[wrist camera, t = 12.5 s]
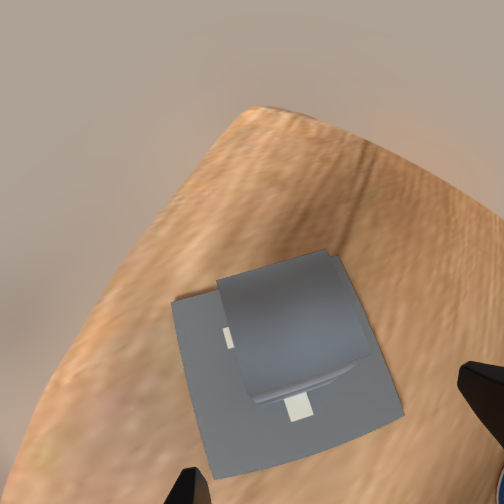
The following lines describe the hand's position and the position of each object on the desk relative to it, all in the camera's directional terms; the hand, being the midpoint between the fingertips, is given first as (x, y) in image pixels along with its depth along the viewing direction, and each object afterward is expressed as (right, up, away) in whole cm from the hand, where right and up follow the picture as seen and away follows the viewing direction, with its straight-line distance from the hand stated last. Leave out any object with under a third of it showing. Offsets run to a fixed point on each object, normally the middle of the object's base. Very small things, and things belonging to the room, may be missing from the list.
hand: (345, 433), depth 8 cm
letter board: (0, -3, +13) cm, 14 cm away
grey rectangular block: (-1, -2, +13) cm, 13 cm away
